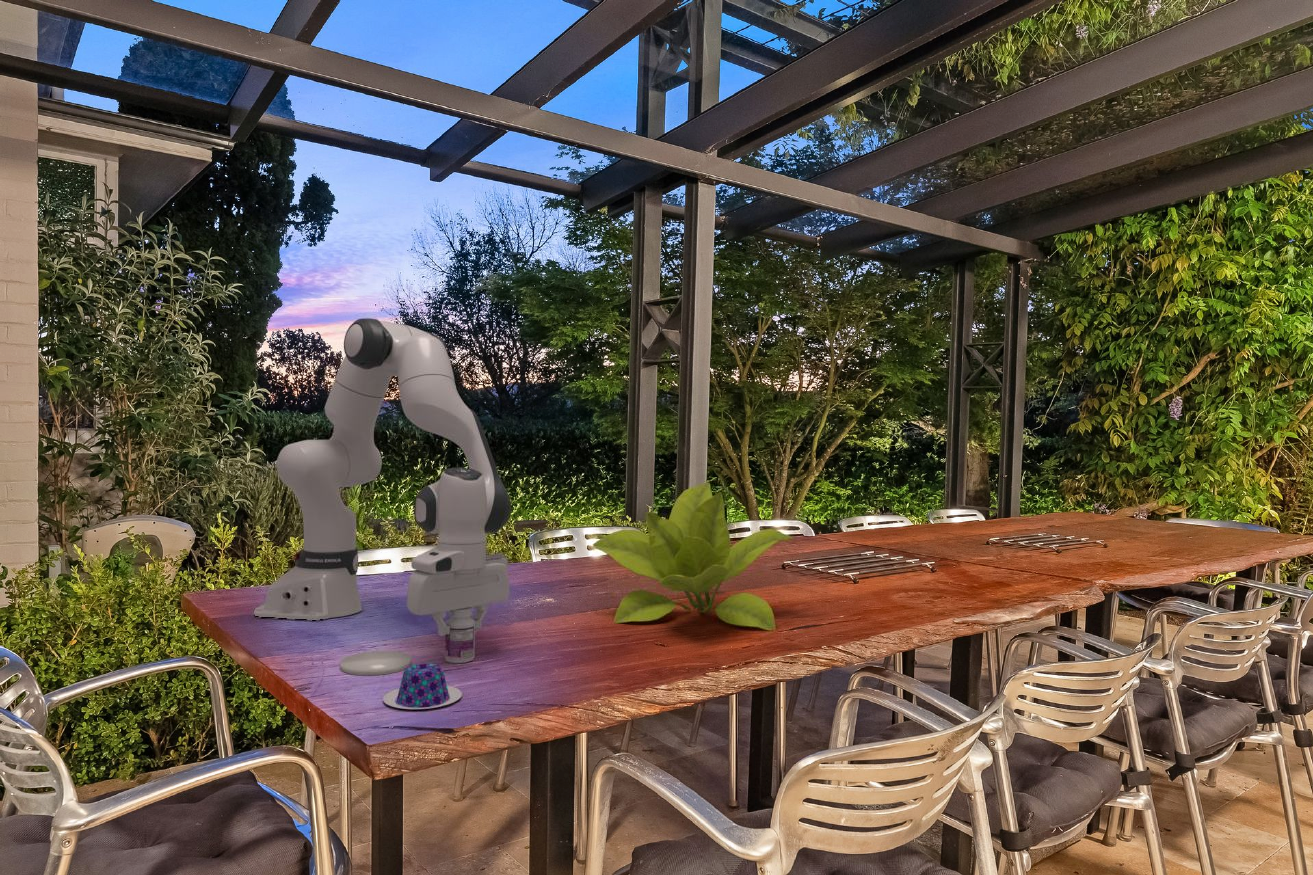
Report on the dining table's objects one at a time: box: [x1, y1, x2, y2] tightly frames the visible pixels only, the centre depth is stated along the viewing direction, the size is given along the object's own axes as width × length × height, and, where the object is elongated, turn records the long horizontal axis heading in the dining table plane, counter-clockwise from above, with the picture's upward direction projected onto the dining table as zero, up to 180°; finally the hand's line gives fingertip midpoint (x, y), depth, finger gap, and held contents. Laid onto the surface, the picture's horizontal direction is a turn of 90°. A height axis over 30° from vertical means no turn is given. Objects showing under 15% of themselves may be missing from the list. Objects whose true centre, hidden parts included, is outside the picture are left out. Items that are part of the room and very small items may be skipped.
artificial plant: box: [592, 482, 793, 631], centre depth 192 cm, size 42×43×30 cm
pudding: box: [382, 662, 463, 710], centre depth 132 cm, size 12×12×5 cm
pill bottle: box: [444, 607, 476, 664], centre depth 154 cm, size 5×5×10 cm
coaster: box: [339, 650, 412, 676], centre depth 150 cm, size 12×12×1 cm
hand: (460, 632), depth 154 cm, fingers closed on pill bottle, 5 cm apart
